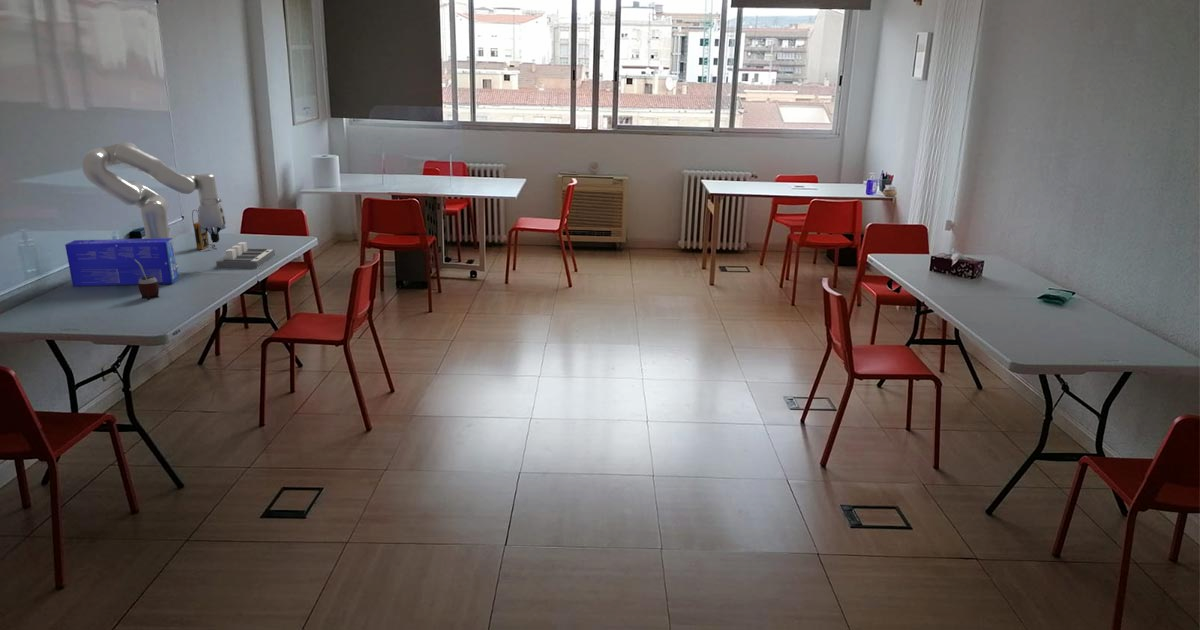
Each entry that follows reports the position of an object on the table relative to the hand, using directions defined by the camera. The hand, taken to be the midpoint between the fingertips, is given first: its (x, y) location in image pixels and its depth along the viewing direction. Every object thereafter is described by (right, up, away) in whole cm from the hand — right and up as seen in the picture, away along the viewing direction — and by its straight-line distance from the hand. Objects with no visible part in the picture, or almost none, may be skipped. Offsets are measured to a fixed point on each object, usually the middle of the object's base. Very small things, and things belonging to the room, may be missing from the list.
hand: (215, 241), depth 370 cm
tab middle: (+6, -5, +9) cm, 12 cm away
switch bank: (+10, -8, +10) cm, 16 cm away
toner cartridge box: (-24, -20, -28) cm, 42 cm away
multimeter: (-19, 0, +34) cm, 38 cm away
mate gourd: (-4, -27, -47) cm, 54 cm away
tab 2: (+5, -3, +16) cm, 17 cm away
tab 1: (+6, -7, +2) cm, 10 cm away
